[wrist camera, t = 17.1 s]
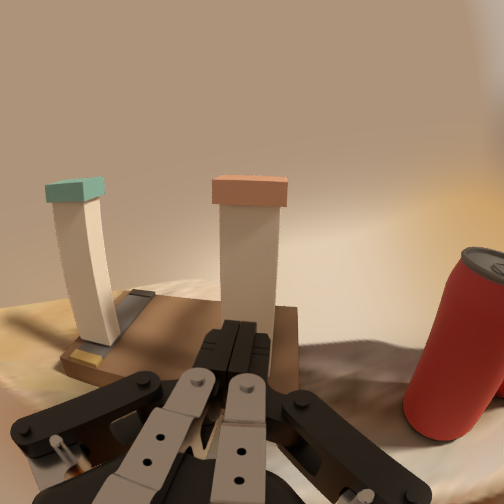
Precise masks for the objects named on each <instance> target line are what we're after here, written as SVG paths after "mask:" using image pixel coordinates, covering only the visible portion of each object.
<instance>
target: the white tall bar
mask: <svg viewBox="0 0 504 504" xmlns="http://www.w3.org/2000/svg"><path fill="white" fill-rule="evenodd" d="M287 186H288V177H274V176H249V175H221V176H219V177H217V178H215V179H212V203H213V204H220V283H221V319H222V325H223V323H224V320H225V319H226V320H237V321H249V322H257V333H267V334H268V336H269V338H270V340H271V346H270V360H269V371H268V377H269V375H270V365H271V355H272V342H273V328H274V314H275V299H276V282H277V267H278V250H279V231H280V211H281V207H286V206H287Z"/></svg>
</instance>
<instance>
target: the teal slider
mask: <svg viewBox="0 0 504 504" xmlns="http://www.w3.org/2000/svg"><path fill="white" fill-rule="evenodd" d="M45 192H46V202H47V203H49V202H52V204H53V213H54V221H55V229H56V235H57V241H58V247H59V253H60V258H61V263H62V268H63V273H64V278H65V282H66V286H67V291H68V295H69V299H70V303H71V306H72V310H73V314H74V317H75V321H76V324H77V328H78V331H79V334H80V337H81V339H84V340H88V341H92V342H96V343H100V344H104V345H108V346H111V345H112V343H113V342H114V341H115V340H116V338H117V337H118V336H119V335H120V328H119V324H118V320H117V315H116V310H115V306H114V301H113V296H112V290H111V285H110V279H109V274H108V268H107V261H106V255H105V247H104V240H103V232H102V223H101V213H100V202H99V196H100V195H104V194H105V190H104V177H92V178H79V179H68V180H63V181H59V182H55V183H51V184H47V185H45Z"/></svg>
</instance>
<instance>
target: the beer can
mask: <svg viewBox="0 0 504 504" xmlns="http://www.w3.org/2000/svg"><path fill="white" fill-rule="evenodd" d="M503 380H504V253H503V252H500V251H496V250H493V249H488V248H483V247H468V248H466V249H464V250H463V251H462V252H461V259H460V260H459V262H458V263H457V265H456V266H455V267H454V269H453V271H452V272H451V274H450V276H449V278H448V280H447V282H446V285H445V288H444V292H443V295H442V299H441V302H440V305H439V308H438V311H437V315H436V318H435V321H434V324H433V327H432V329H431V332H430V335H429V338H428V340H427V343H426V346H425V348H424V351H423V353H422V356H421V358H420V361H419V363H418V366H417V368H416V370H415V373H414V375H413V377H412V379H411V382H410V384H409V386H408V388H407V390H406V393H405V395H404V398H403V411H404V413H405V415H406V418H407V420H408V422H409V423H410V424H411V425H412V427H413V428H414V429H415V430H416V431H418V432H419V433H421V434H422V435H424V436H425V437H428V438H431V439H435V440H453V439H456V438H459V437H462V436H464V435H465V434H466V433H467V432H469V431H470V430H471V429H472V428H473V426H474V425H475V423H476V422H477V421H478V419H479V418H480V416H481V415H482V413H483V412H484V411H485V409H486V408H487V406H488V405H489V403H490V401H491V400H492V398H493V397H494V395H495V393H496V392H497V390H498V389H499V387H500V385H501V384H502V382H503Z"/></svg>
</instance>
